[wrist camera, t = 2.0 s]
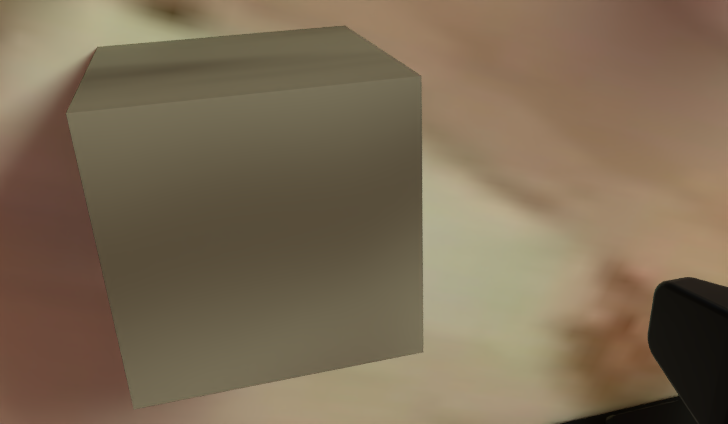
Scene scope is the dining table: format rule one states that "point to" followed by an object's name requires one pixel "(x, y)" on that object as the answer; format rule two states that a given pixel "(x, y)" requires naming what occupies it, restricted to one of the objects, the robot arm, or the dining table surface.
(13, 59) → the dining table surface
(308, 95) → the walnut cube
